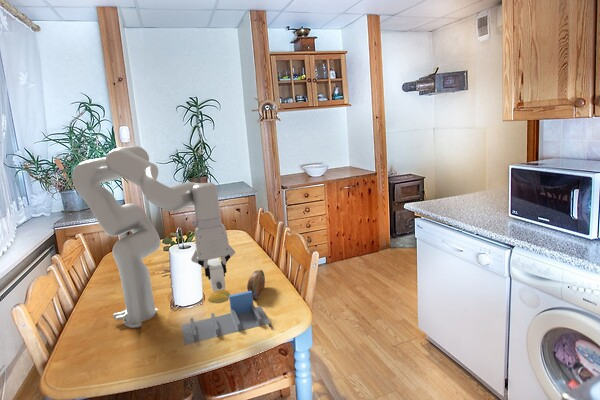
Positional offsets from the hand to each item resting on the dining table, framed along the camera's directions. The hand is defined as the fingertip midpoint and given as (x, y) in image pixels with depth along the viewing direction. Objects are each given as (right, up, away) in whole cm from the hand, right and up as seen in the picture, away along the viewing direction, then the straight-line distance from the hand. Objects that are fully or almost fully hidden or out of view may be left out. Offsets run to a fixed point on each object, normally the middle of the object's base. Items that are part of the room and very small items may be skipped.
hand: (216, 276), depth 127 cm
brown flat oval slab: (+10, -13, +30) cm, 34 cm away
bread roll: (-4, -15, +26) cm, 30 cm away
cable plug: (+1, -3, -1) cm, 3 cm away
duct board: (+2, -19, +6) cm, 20 cm away
